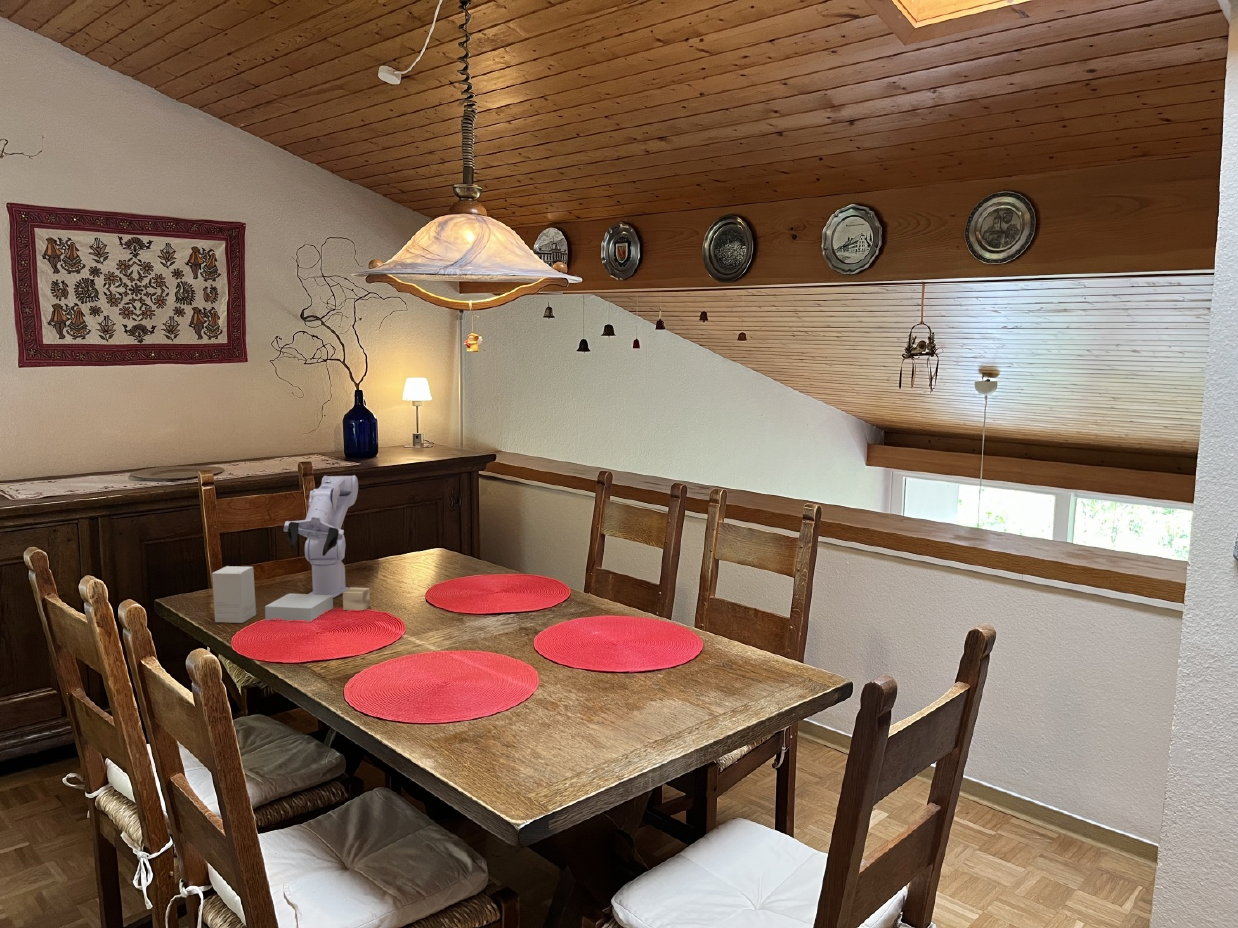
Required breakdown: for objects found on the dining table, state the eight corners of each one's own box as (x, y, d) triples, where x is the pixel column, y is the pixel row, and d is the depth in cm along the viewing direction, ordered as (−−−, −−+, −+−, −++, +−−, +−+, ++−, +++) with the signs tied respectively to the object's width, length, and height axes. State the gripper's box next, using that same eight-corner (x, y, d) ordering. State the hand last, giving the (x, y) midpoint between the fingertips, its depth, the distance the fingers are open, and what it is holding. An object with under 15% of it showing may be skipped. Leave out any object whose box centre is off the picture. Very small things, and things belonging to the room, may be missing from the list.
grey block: (289, 608, 239) (289, 593, 238) (333, 610, 237) (332, 595, 236) (265, 621, 227) (265, 606, 226) (311, 624, 225) (310, 608, 225)
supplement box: (257, 614, 231) (254, 566, 230) (242, 623, 224) (239, 573, 222) (229, 613, 232) (226, 565, 230) (213, 622, 225) (210, 572, 223)
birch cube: (351, 605, 240) (351, 587, 239) (369, 606, 239) (369, 588, 239) (343, 611, 235) (342, 592, 234) (361, 612, 234) (361, 593, 234)
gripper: (290, 501, 236) (279, 532, 225) (347, 511, 239) (340, 541, 228) (287, 523, 239) (276, 555, 228) (344, 532, 243) (336, 564, 231)
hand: (308, 550), depth 228 cm, fingers open, 7 cm apart
